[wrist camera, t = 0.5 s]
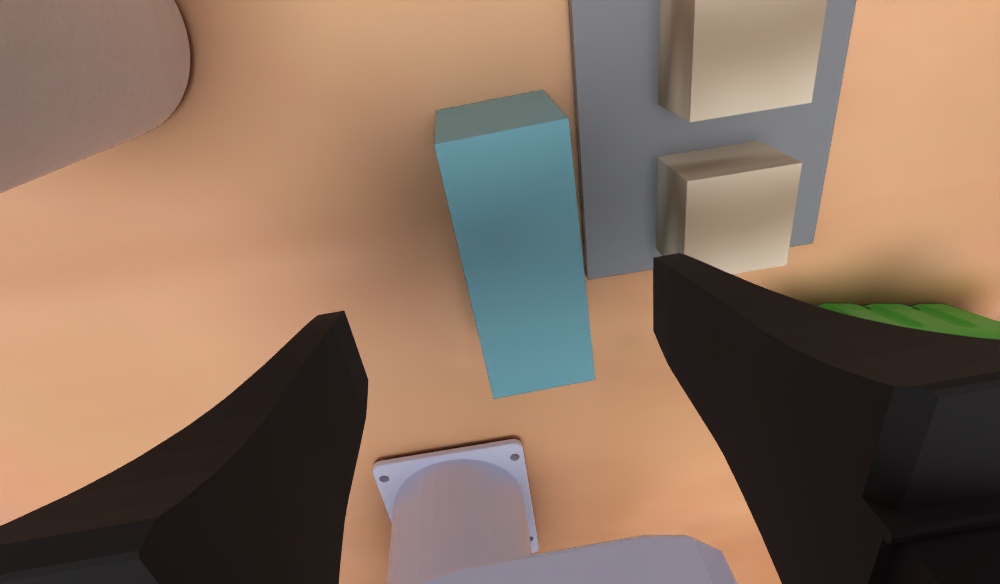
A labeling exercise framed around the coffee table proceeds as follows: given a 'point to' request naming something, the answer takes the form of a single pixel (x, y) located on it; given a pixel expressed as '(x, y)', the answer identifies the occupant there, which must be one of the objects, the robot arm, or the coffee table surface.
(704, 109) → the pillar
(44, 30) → the coffee cup
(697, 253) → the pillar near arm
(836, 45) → the build plate
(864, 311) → the fruit basket
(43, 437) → the coffee table surface
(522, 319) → the lintel
